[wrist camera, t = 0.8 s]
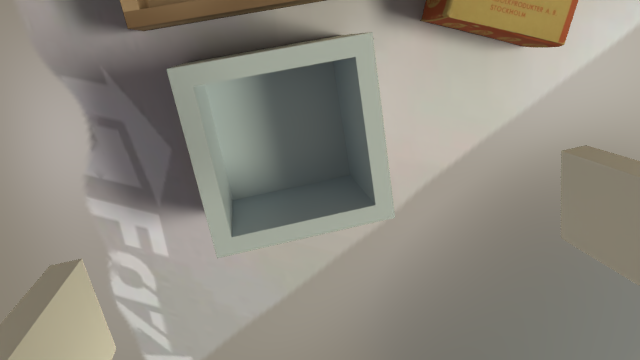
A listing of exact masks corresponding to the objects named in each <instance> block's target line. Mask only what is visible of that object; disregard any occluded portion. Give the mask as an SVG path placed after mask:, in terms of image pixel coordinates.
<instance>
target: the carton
mask: <svg viewBox="0 0 640 360" xmlns="http://www.w3.org/2000/svg"><path fill="white" fill-rule="evenodd" d="M577 3H578V0H426V3H425V7H424V12H423V15H422V20H420V21H425V22H429V23H433V24H437V25H441V26H445V27H449V28H454V29H458V30H462V31H466V32H469V33H474V34H478V35H482V36H486V37H490V38H494V39H497V40H501V41H505V42H509V43H513V44H516V45H520V46H525V47H559V46H562V45H564V44H565V40H566V37H567V34H568V31H569V28H570V24H571V21H572V19H573V15H574V12H575V9H576V6H577Z"/></svg>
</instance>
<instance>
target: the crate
mask: <svg viewBox="0 0 640 360" xmlns="http://www.w3.org/2000/svg"><path fill="white" fill-rule="evenodd" d="M319 1H325V0H120V3H121V6H122V10H123V13H124V17H125V20H126V24H127V27H128V29H134V30H141V31H147V30H153V29H159V28H165V27H171V26H177V25H182V24H188V23H194V22H200V21H206V20H212V19H218V18H224V17H230V16H236V15H242V14H248V13H254V12H260V11H266V10H272V9H278V8H284V7H290V6H295V5H301V4H307V3H313V2H319Z"/></svg>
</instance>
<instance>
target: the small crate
mask: <svg viewBox="0 0 640 360" xmlns="http://www.w3.org/2000/svg"><path fill="white" fill-rule="evenodd" d="M166 70H167V74H168V77H169V81H170V85H171V88H172V92H173V96H174V100H175V103H176V107H177V111H178V114H179V118H180V122H181V126H182V129H183V133H184V137H185V140H186V144H187V148H188V152H189V155H190V159H191V163H192V166H193V170H194V174H195V178H196V181H197V185H198V189H199V192H200V196H201V200H202V204H203V207H204V211H205V215H206V218H207V222H208V226H209V230H210V233H211V237H212V241H213V244H214V248H215V252H216V256H217V258H221V257H225V256H229V255H234V254H238V253H242V252H247V251H251V250H256V249H260V248H264V247H269V246H273V245H278V244H282V243H286V242H291V241H295V240H299V239H304V238H308V237H313V236H317V235H321V234H326V233H330V232H334V231H339V230H343V229H348V228H352V227H356V226H361V225H365V224H370V223H374V222H378V221H383V220H387V219H391V218H395V213H394V205H393V197H392V189H391V180H390V172H389V164H388V156H387V148H386V140H385V132H384V123H383V115H382V107H381V99H380V91H379V83H378V74H377V66H376V58H375V50H374V42H373V34H372V32H371V33H360V34H350V35H340V36H335V37H329V38H323V39H318V40H312V41H306V42H301V43H295V44H290V45H284V46H278V47H273V48H267V49H261V50H256V51H250V52H245V53H239V54H233V55H228V56H222V57H217V58H211V59H205V60H200V61H194V62H188V63H183V64H180V65H177V66H174V67H171V68H168V69H166Z"/></svg>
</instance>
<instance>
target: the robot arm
mask: <svg viewBox="0 0 640 360" xmlns="http://www.w3.org/2000/svg"><path fill="white" fill-rule="evenodd" d="M561 238H562V239H563V240H565V241H567V242H568V243H570V244H572V245H573V246H575V247H576V248H578V249H580V250H581V251H583V252H585V253H586V254H588V255H590V256H591V257H593V258H594V259H596V260H598V261H599V262H601V263H603V264H604V265H606V266H608V267H609V268H611V269H613V270H614V271H616V272H618V273H619V274H621V275H622V276H624V277H626V278H627V279H629V280H631V281H632V282H634V283H636V284H637V285H639V286H640V161H637V160H634V159H630V158H627V157H624V156H620V155H617V154H614V153H610V152H607V151H603V150H600V149H596V148H593V147H590V146H587V145H586V146H581V147H577V148H572V149H567V150H563V151H561ZM115 351H116V347H115V344H114V341H113V339H112V336H111V334H110V331H109V328H108V325H107V323H106V320H105V318H104V315H103V313H102V310H101V308H100V305H99V302H98V299H97V297H96V294H95V292H94V289H93V286H92V284H91V281H90V279H89V276H88V274H87V271H86V269H85V266H84V263H83V261H82V259H78V260H74V261H69V262H64V263H60V264H55V265H51V266H49V267H48V269H47V270H46V271H45V272H44V273H43V274H42V276H41V277H40V278H39V279H38V280H37V282H36V283H35V284H34V285H33V286H32V287H31V288H30V290H29V291H28V292H27V293H26V294H25V296H24V297H23V298H22V299H21V300H20V301H19V303H18V304H17V305H16V306H15V307H14V308H13V310H12V311H11V312H10V313H9V314H8V316H7V317H6V318H5V319H4V320H3V321H2V323H1V324H0V360H112V358H113V355H114V353H115Z"/></svg>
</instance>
